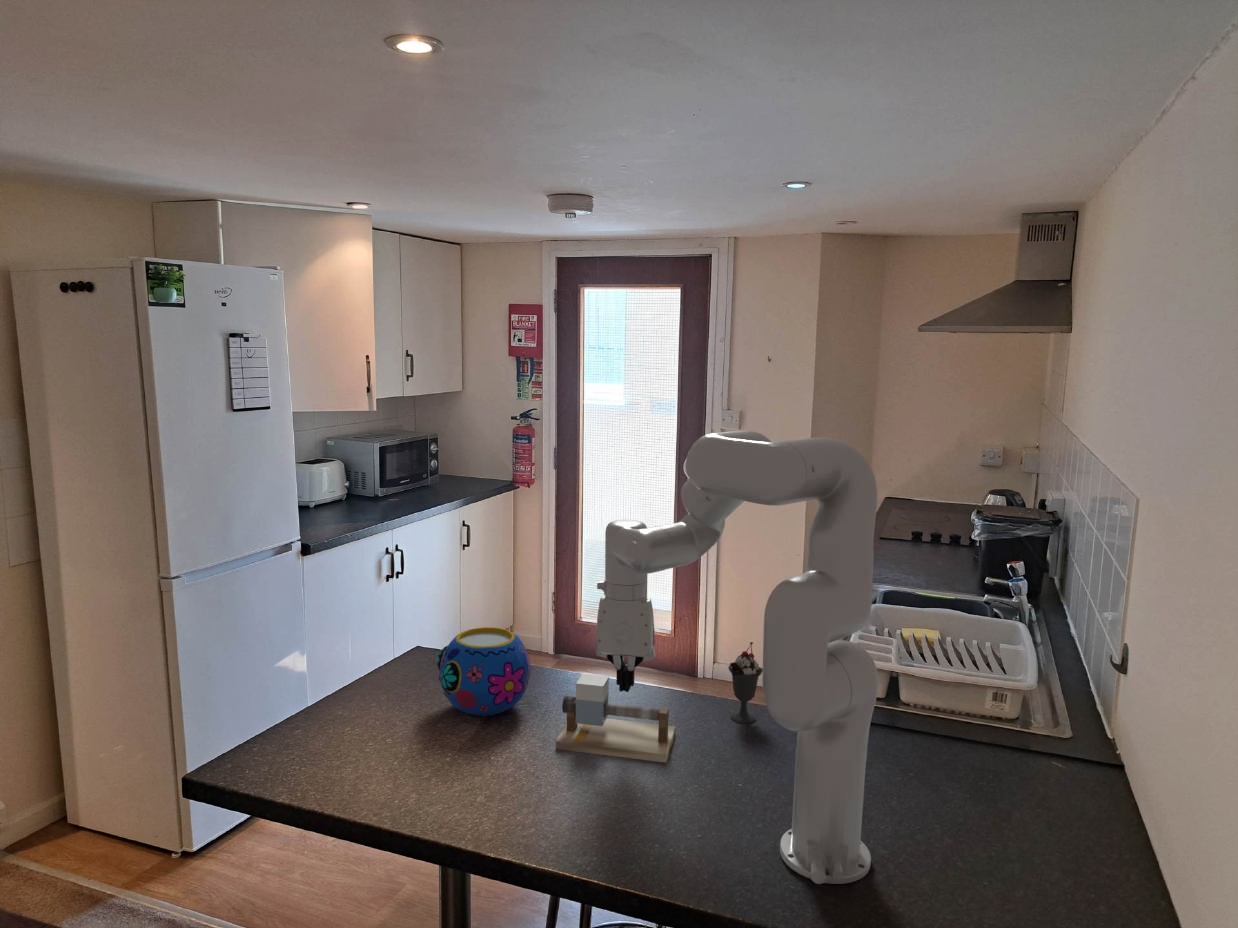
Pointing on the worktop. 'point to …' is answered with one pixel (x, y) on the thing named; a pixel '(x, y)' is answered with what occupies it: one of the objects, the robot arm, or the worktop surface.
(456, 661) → the ceramic pot
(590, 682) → the sleeve
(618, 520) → the robot arm
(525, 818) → the worktop surface
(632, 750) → the board
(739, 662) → the sundae
